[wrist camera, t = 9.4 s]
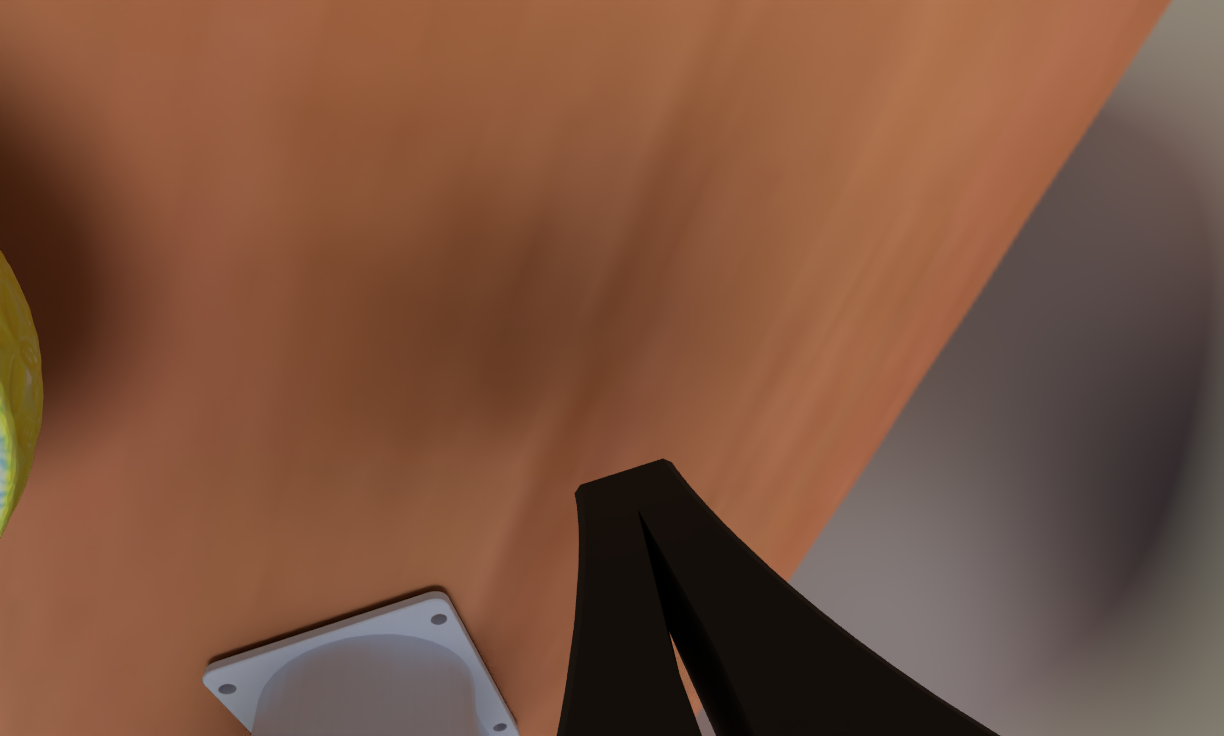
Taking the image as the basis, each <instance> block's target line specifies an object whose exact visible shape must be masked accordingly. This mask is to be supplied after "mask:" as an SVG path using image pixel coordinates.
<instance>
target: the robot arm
mask: <svg viewBox="0 0 1224 736" xmlns="http://www.w3.org/2000/svg"><path fill="white" fill-rule="evenodd" d="M575 498H576V504H577V511H578V525H579V567H578V582H577V596H576V609H575V621H574V630H573V638H572V645H571V652H570V659H569V666H568V673H567V681H566V688H565V694H564V700H563V705H562V711H561V716H560V722H559V727H558V732H557V736H702V735H701V732H700V729H699V726H698V724H697V721H696V718H695V715H694V713H693V710H692V707H691V704H690V702H689V699H688V696H687V693H686V691H685V688H684V685H683V682H682V680H681V677H680V674H679V670H678V666H677V661H676V657H675V653H674V649H673V645H672V641H671V637H672V639H673V641H674V643H675V646H676V648H677V650H678V652H679V654H680V657H681V659H682V661H683V663H684V666H685V668H686V670H687V672H688V674H689V677H690V679H691V681H692V683H693V686H694V688H695V690H696V692H697V694H698V697H699V699H700V701H701V703H702V705H703V708H704V710H705V712H706V714H707V716H708V719H709V721H710V723H711V725H712V727H713V730H714V732H715V734H716V736H1000V735H998V734H997V733H995V732H993V731H992V730H990V729H989V728H987V727H985V726H984V725H982V724H980V723H979V722H977V721H976V720H974V719H973V718H971V717H969V716H968V715H966V714H965V713H963V712H961V711H960V710H958V709H957V708H955V707H953V706H952V705H950V704H949V703H947V702H946V701H944V700H942V699H941V698H939V697H938V696H936V695H935V694H933V693H932V692H930V691H929V690H928V689H926V688H925V687H923V686H921V685H920V684H919V683H917V682H916V681H914V680H913V679H912V678H910V677H909V676H907V675H906V674H904V673H903V672H902V671H900V670H899V669H897V668H896V667H894V666H893V665H891V664H890V663H889V662H887V661H886V660H885V659H883V658H882V657H881V656H879V655H877V654H876V653H875V652H874V651H872V650H871V649H870V648H868V647H867V646H866V645H864V644H863V643H861V642H860V641H859V640H857V639H856V638H855V637H853V636H852V635H851V634H850V633H848V632H847V631H846V630H844V629H843V628H842V627H840V626H839V625H838V624H837V623H835V622H834V621H833V620H832V619H830V618H829V617H828V616H827V615H825V614H824V613H823V612H822V611H820V610H819V609H818V608H817V607H816V606H814V605H813V604H812V603H811V602H810V601H808V600H807V599H806V598H805V597H804V596H803V595H801V594H800V593H799V592H798V591H796V590H795V589H794V588H793V587H792V586H791V585H789V584H788V583H787V582H786V581H785V580H784V579H783V578H782V577H780V576H779V575H778V574H777V573H776V572H775V571H774V570H773V569H771V568H770V567H769V566H768V565H767V564H766V563H765V562H764V561H763V560H762V559H761V558H760V557H759V556H757V555H756V554H755V553H754V552H753V551H752V550H751V549H750V548H749V547H748V546H747V545H746V544H745V543H744V542H743V541H742V540H741V539H739V538H738V537H737V536H736V535H735V534H734V533H733V532H732V531H731V530H730V529H729V528H728V527H727V526H726V525H725V524H724V523H723V522H722V521H721V520H720V519H719V517H718V516H717V515H716V514H715V513H714V512H713V511H712V510H711V509H710V508H709V507H708V506H707V505H706V504H705V503H704V501H703V500H702V499H701V498H700V497H699V496H698V495H697V494H696V492H695V491H694V490H693V489H692V488H691V487H690V485H689V484H688V483H687V482H686V481H685V479H684V478H683V477H682V476H681V474H680V473H679V472H678V470H677V469H676V468H675V466H674V465H673V463H672V462H670V461H667V460H665V459H660V460H657V461H654V462H651V463H648V464H645V465H641V466H638V467H635V468H632V469H629V470H626V471H623V472H619V473H616V474H613V475H610V476H607V477H604V478H601V479H598V480H594V481H591V482H588V483H585V484H582V485H580V486H579V488H578V489H577V491H576V492H575ZM437 614H441V615H437ZM669 632H670V633H669ZM670 634H671V637H670ZM202 682H203V684H204V685H205V686H206V687H207V688H208V689H209V690H210V691H211V692H212V693H213V694H214V695H215V696H216V697H217V698H218V699H219V700H220V701H221V702H222V704H223V705H224V706H225V707H226V708H227V709H228V710H229V711H230V712H231V713H232V714H233V715H234V716H235V717H236V718H237V719H238V720H239V721H240V722H241V723H242V724H243V725H244V726H245V727H246V728H247V729H248V730H249V731H250V732H251V736H520V735H519V728H518V726H517V724H516V722H515V720H514V718H513V716H512V715H511V713H510V711H509V709H508V707H507V705H506V703H505V702H504V700H503V698H502V696H501V694H500V692H499V690H498V689H497V687H496V685H495V683H494V681H493V679H492V677H491V676H490V674H489V672H488V670H487V668H486V666H485V664H484V663H483V661H482V659H481V657H480V655H479V653H478V651H477V649H476V648H475V646H474V644H473V642H472V640H471V638H470V636H469V635H468V633H467V631H466V629H465V627H464V625H463V623H462V622H461V620H460V618H459V616H458V614H457V612H456V610H455V609H454V607H453V605H452V603H451V601H450V599H449V597H448V596H447V595H446V594H445V593H442V592H439V591H432V592H428V593H425V594H422V595H419V596H415V597H412V598H409V599H406V600H403V601H400V602H397V603H394V604H391V605H388V606H385V607H382V608H379V609H376V610H373V611H369V612H366V613H363V614H360V615H357V616H354V617H351V618H348V619H345V620H342V621H339V622H336V623H333V624H330V625H327V626H323V627H320V628H317V629H314V630H311V631H308V632H305V633H302V634H299V635H296V636H293V637H290V638H287V639H284V640H281V641H277V642H274V643H271V644H268V645H265V646H262V647H259V648H256V649H253V650H250V651H247V652H244V653H241V654H238V655H235V656H231V657H228V658H225V659H222V660H219V661H216V662H214V663H211V664H209V665H208V666H207V667H206V668H205V671H204V674H203V678H202Z"/></svg>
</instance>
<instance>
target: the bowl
mask: <svg viewBox="0 0 1224 736" xmlns="http://www.w3.org/2000/svg"><path fill="white" fill-rule="evenodd" d="M41 363H42V360H41V354H40V348H39V342H38V335H37V332H36V329H35V326H34V323H33V319H32V315H31V311H30V308H29V306H28V303H27V301H26V299H25V296H24V294H23V292H22V290H21V287H20V285H19V283H18V281H17V279H16V277H15V275H14V273H13V270H12V268H11V267H10V265H9V264H8V262H7V261H6V259H5V257H4V255H3V253H2V252H1V250H0V538H1V535H2V533H3V531H4V529H5V527H6V525H7V523H8V521H9V519H10V517H11V515H12V513H13V511H14V510H15V508H16V506H17V504H18V502H19V500H20V497H21V495H22V493H23V490H24V488H25V485H26V482H27V480H28V477H29V474H30V471H31V468H32V462H33V454H34V449H35V446H36V443H37V440H38V436H39V433H40V429H41V425H42V410H43V400H44V392H43V381H42V372H41Z"/></svg>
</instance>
